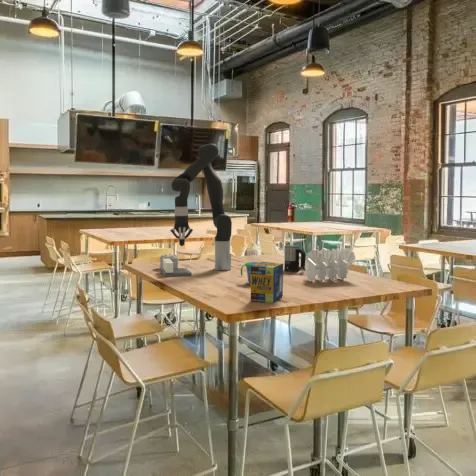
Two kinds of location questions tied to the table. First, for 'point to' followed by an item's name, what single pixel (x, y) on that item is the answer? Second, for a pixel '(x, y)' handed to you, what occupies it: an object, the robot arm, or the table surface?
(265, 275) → the protein box
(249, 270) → the snack cup
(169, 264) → the tab
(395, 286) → the table surface
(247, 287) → the table surface
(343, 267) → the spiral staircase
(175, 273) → the switch bank
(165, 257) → the paw print plaque
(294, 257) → the milk frother
